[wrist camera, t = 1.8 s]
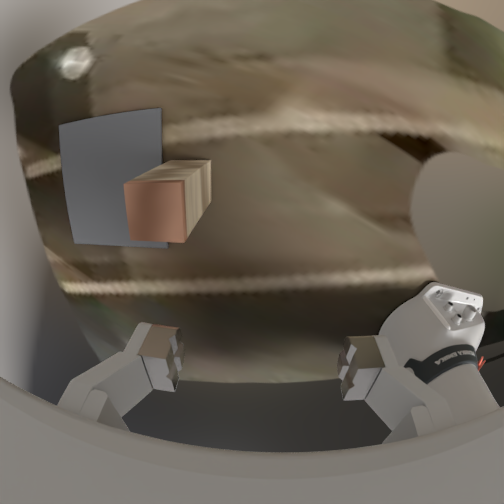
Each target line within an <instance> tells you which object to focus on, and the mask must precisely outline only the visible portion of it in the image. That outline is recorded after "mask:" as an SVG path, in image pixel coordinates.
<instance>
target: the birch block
mask: <svg viewBox="0 0 504 504" xmlns="http://www.w3.org/2000/svg"><path fill="white" fill-rule="evenodd" d="M124 195H125V204H126V212H127V220H128V227H129V234H130V240H134V241H155V242H176V243H185V241H186V239H187V238H188V236H189V235H190V233H191V232H192V230H193V228H194V227H195V225H196V224H197V222H198V221H199V219H200V217H201V216H202V214H203V213H204V211H205V210H206V208H207V207H208V205H209V204H210V202H211V160H170V161H168V162H166V163H164V164H162V165H160V166H158V167H155V168H153V169H151V170H149V171H147V172H145V173H143V174H142V175H140V176H138V177H136V178H134V179H132V180H130V181H128V182H126V183H124Z"/></svg>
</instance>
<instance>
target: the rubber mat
mask: <svg viewBox="0 0 504 504" xmlns="http://www.w3.org/2000/svg"><path fill="white" fill-rule="evenodd" d="M59 139H60V153H61V164H62V174H63V182H64V189H65V196H66V203H67V209H68V214H69V220H70V225H71V230H72V235H73V239H74V243H76V244H94V245H112V246H131V247H149V248H167V249H168V247H169V246H168V242H155V241H134V240H130V234H129V227H128V220H127V212H126V204H125V195H124V183H126V182H128V181H130V180H132V179H134V178H136V177H138V176H140V175H142V174H143V173H145V172H147V171H149V170H151V169H153V168H155V167H158V166H160V165H162V164H163V163H162V108H155V109H146V110H138V111H130V112H123V113H117V114H110V115H105V116H99V117H94V118H89V119H84V120H79V121H75V122H70V123H66V124H62V125H59Z"/></svg>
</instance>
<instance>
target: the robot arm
mask: <svg viewBox="0 0 504 504" xmlns="http://www.w3.org/2000/svg"><path fill="white" fill-rule="evenodd" d="M482 305H483V298H482V296H481V295H480V294H478V293H475V292H471V291H467V290H464V289H460V288H456V287H452V286H449V285H445V284H441V283H437V282H431V283H430V284H428V285H427V286H426V287H425V288H424V289H423V290H422V291H421V292H420V293H419V294H418V295H417V296H415V297H414V298H412V299H410V300H408V301H406V302H405V303H403V304H402V305H401V306H399V307H398V308H397V309H396V310H394V311H393V312H392V313H391V314H390V316H389V317H388V318H387V319H386V321H385V322H384V324H383V325H382V327H381V329H380V332H379V335H373V336H347V337H346V338H345V340H344V343H343V347H344V350H343V351H342V352H340V354H339V358H338V364H337V369H338V376H339V378H341V379H342V380H343V382H342V384H341V391H342V396H343V400H362V399H365V401H366V402H367V403H368V404H369V406H370V407H371V408H372V409H373V410H374V411H375V412H376V414H377V415H378V416H379V417H380V418H381V419H382V420H383V421H384V422H385V423H386V425H387V426H388V427H389V428H390V429H391V430H392V433H391V434H390V435H389V436H388V437H387V438H386V439H385V440H384V442H383V444H381V445H374V446H368V447H361V448H354V449H344V450H335V451H320V452H297V453H273V452H270V453H269V452H247V451H234V450H224V449H215V448H206V447H199V446H193V445H187V444H181V443H175V442H171V441H166V440H161V439H156V438H152V437H148V436H144V435H140V434H136V433H132V432H129V429H128V428H127V426H126V424H125V423H124V421H123V420H122V418H121V417H122V416H123V415H124V414H125V413H127V412H128V411H129V410H130V409H131V408H133V407H134V406H135V405H136V404H137V403H138V402H139V401H141V400H142V399H143V398H144V397H145V396H146V395H147V394H148V393H150V392H151V391H152V390H153V389H158V390H165V391H171V392H175V390H176V387H177V383H178V380H179V375H178V371H179V370H181V369H182V367H183V363H184V356H185V352H184V344H183V343H182V342H181V338H182V333H181V329H180V328H177V327H170V326H164V325H158V324H149V323H144V322H141V323H139V324H138V325H137V327H136V329H135V331H134V333H133V335H132V336H131V338H130V340H129V342H128V344H127V346H126V348H125V350H124V352H118V353H117V354H115V355H113V356H111V357H110V358H108V359H106V360H105V361H103V362H101V363H100V364H98V365H96V366H95V367H93V368H91V369H89V370H88V371H86V372H84V373H83V374H81V375H79V376H78V377H76V378H74V379H72V380H71V382H70V383H69V385H68V387H67V389H66V390H65V392H64V394H63V396H62V397H61V399H60V401H59V403H58V405H57V406H56V405H54V404H51V403H49V402H47V401H44V400H43V399H40V398H38V397H36V396H34V395H32V394H31V393H29V392H27V391H25V390H23V389H21V388H19V387H17V386H15V385H14V384H12V383H10V382H8V381H7V380H5V379H3V378H2V377H0V504H504V407H501V408H500V407H499V405H498V404H497V403H496V401H495V400H494V398H493V396H492V394H491V393H490V391H489V389H488V387H487V385H486V384H485V382H484V380H483V378H482V377H481V375H480V373H479V370H480V368H481V367H482V365H483V364H484V362H485V360H484V361H483V363H482V364H481V362H482V360H483V357H481V359H480V360H479V362H477V356H476V350H477V348H478V345H479V343H480V341H481V338H482V336H483V333H484V327H485V325H484V320H483V318H482V316H481V315H480V313H481V310H482ZM480 364H481V365H480Z"/></svg>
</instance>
